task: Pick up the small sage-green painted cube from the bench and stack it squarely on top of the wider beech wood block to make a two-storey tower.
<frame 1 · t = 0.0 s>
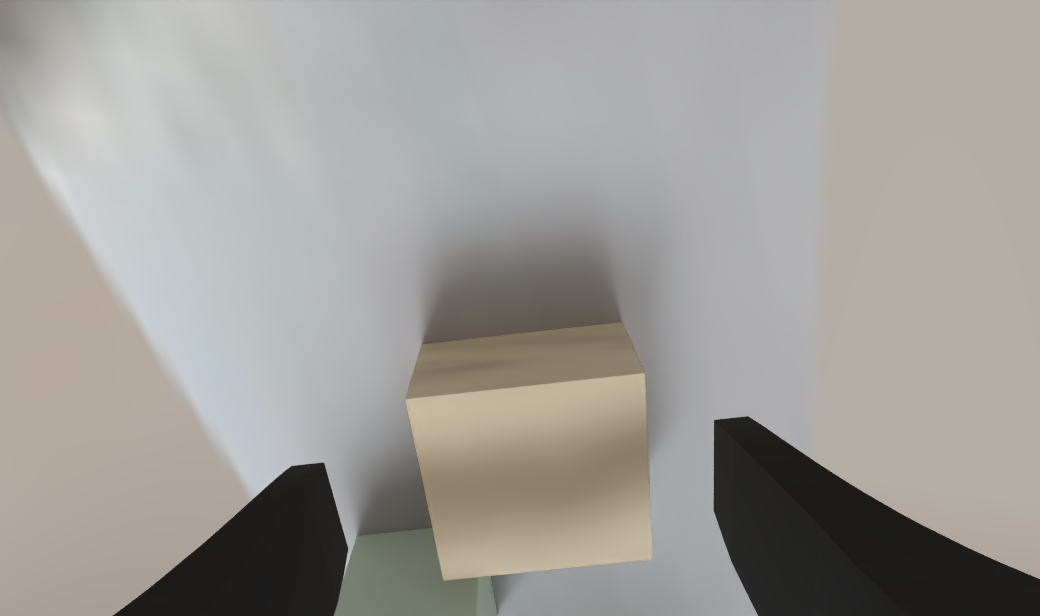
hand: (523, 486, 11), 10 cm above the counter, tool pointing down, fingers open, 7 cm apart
sage cube: (430, 575, 25), on the counter
beech base block: (531, 415, 23), on the counter
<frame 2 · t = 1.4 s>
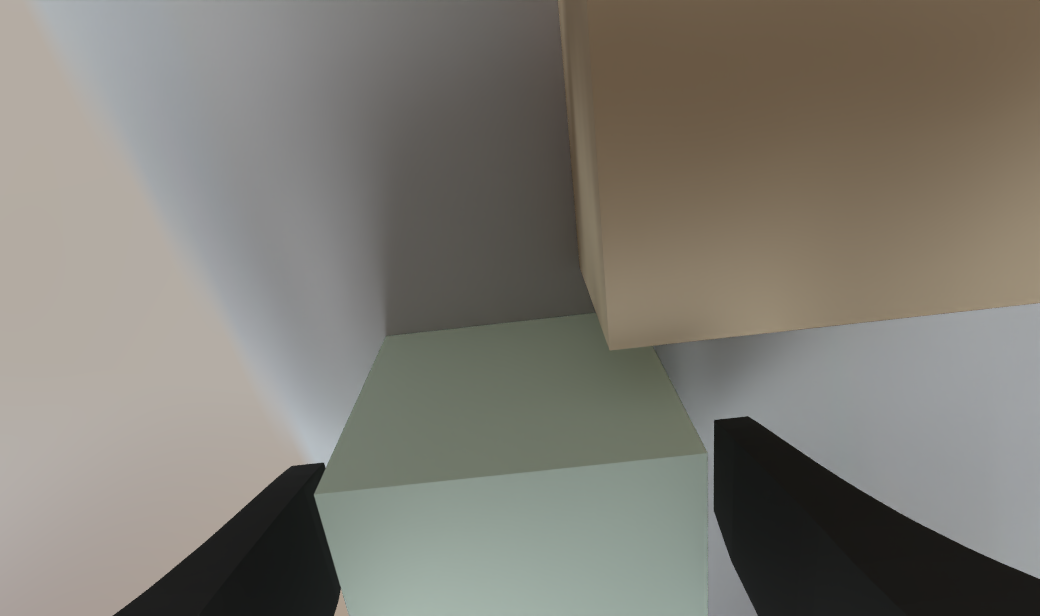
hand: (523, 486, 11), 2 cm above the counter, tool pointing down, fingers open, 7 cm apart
sage cube: (522, 426, 13), on the counter
beech base block: (761, 50, 11), on the counter
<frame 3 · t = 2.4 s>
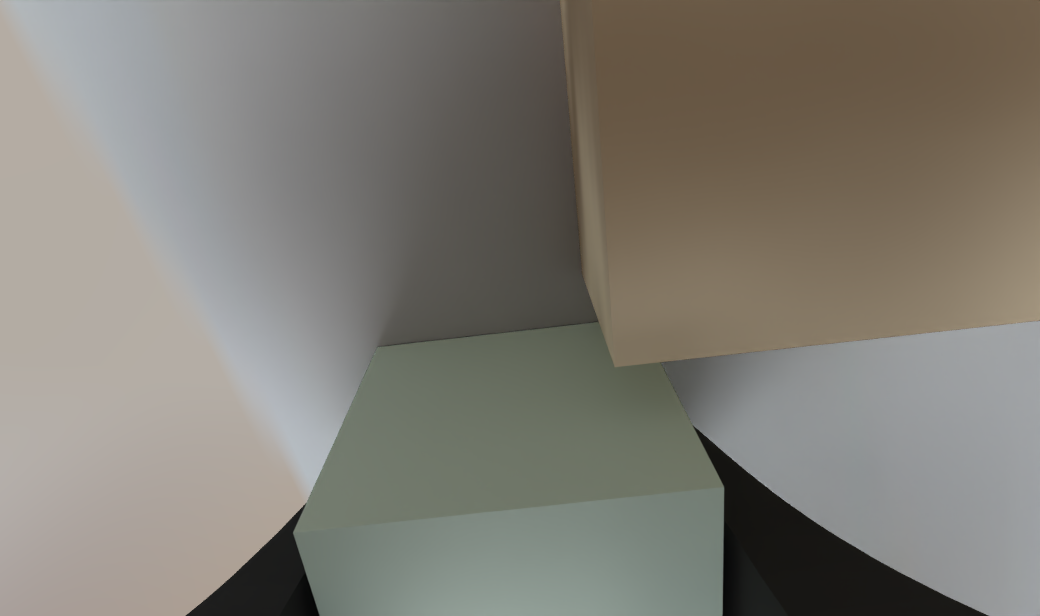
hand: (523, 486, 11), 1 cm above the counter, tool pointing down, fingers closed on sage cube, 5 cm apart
sage cube: (521, 442, 13), on the counter, touching gripper
beech base block: (774, 45, 10), on the counter
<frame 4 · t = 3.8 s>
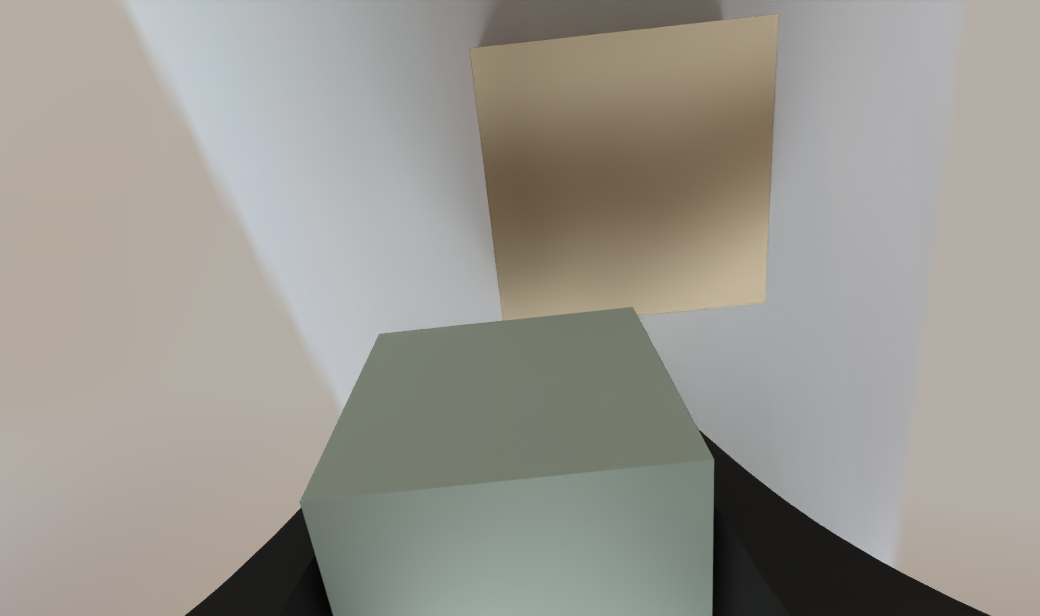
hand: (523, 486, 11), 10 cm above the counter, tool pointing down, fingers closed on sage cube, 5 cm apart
sage cube: (519, 429, 13), point 8 cm above the counter, touching gripper
beech base block: (604, 162, 19), on the counter
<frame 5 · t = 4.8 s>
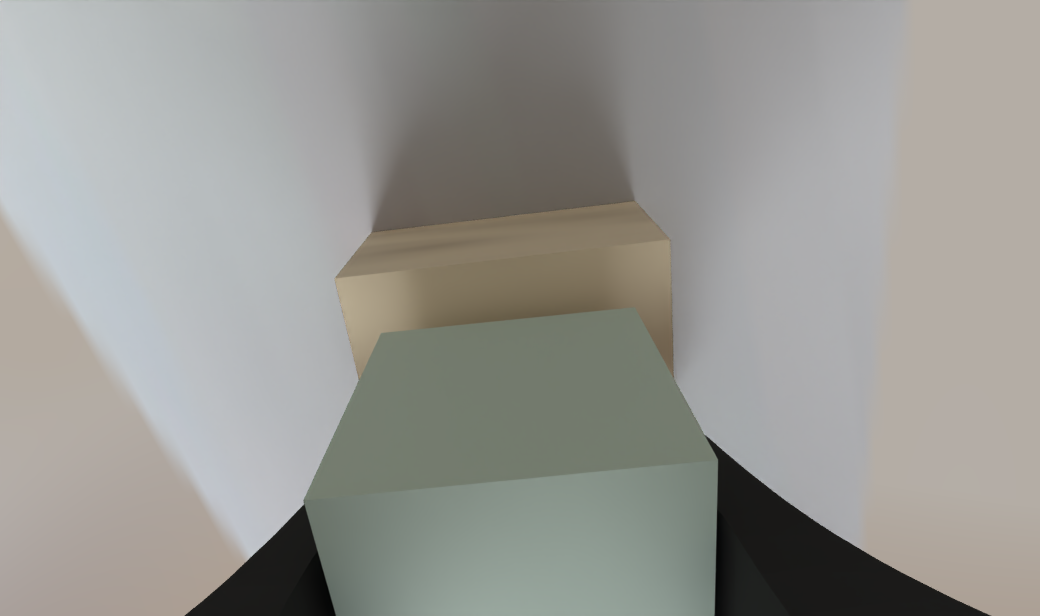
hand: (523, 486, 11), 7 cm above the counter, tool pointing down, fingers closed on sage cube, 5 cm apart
sage cube: (520, 428, 13), point 5 cm above the counter, touching gripper
beech base block: (517, 333, 18), on the counter
when the fingers open (7 cm above the counter, at t = 5.5 s): sage cube drops 1 cm, point 4 cm above the counter.
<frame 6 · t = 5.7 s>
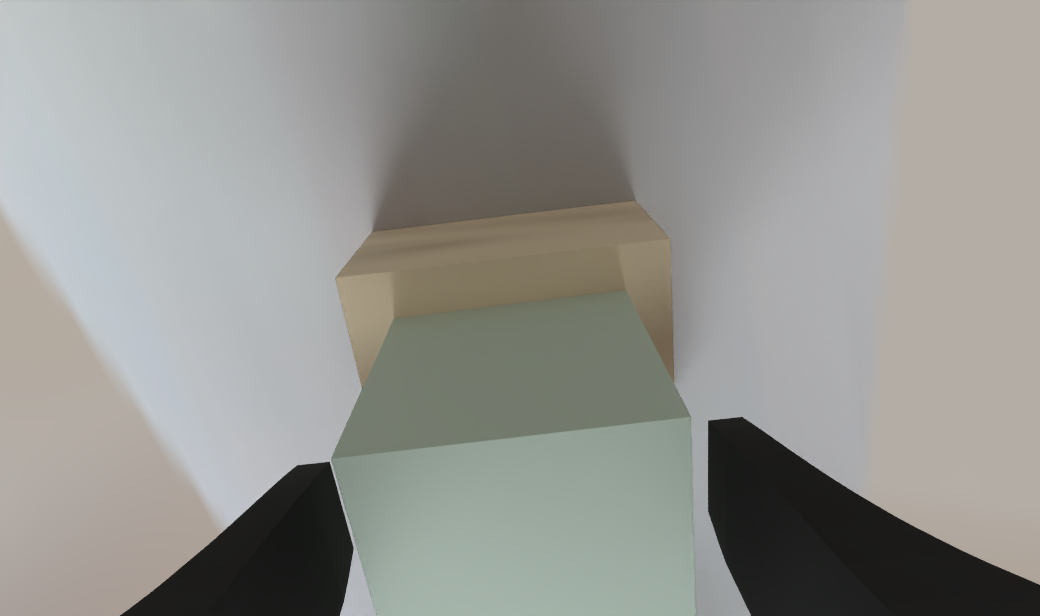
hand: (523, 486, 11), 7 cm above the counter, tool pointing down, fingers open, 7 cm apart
sage cube: (523, 404, 14), point 4 cm above the counter
beech base block: (518, 332, 18), on the counter
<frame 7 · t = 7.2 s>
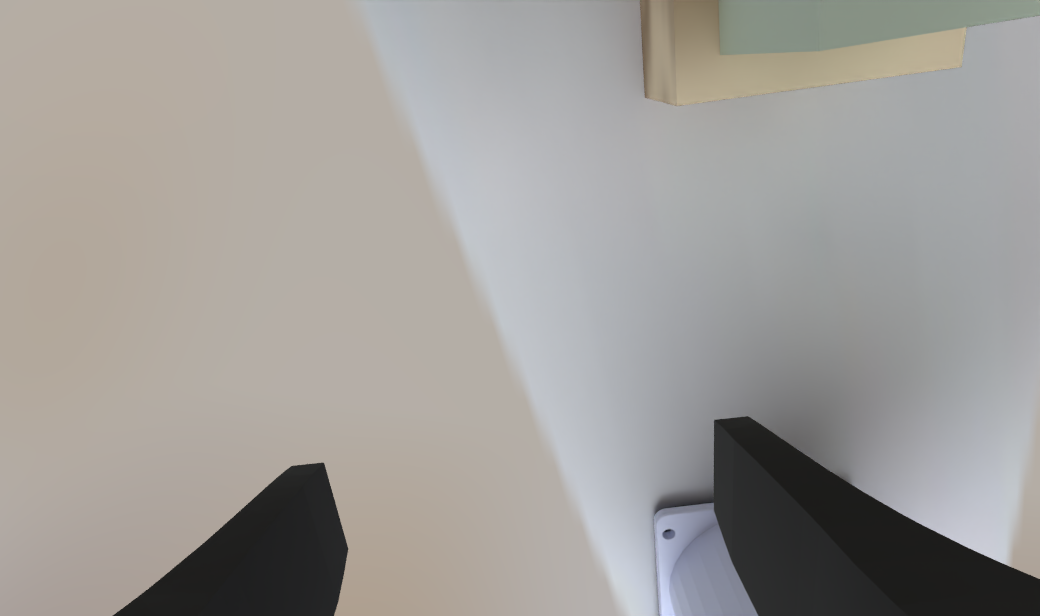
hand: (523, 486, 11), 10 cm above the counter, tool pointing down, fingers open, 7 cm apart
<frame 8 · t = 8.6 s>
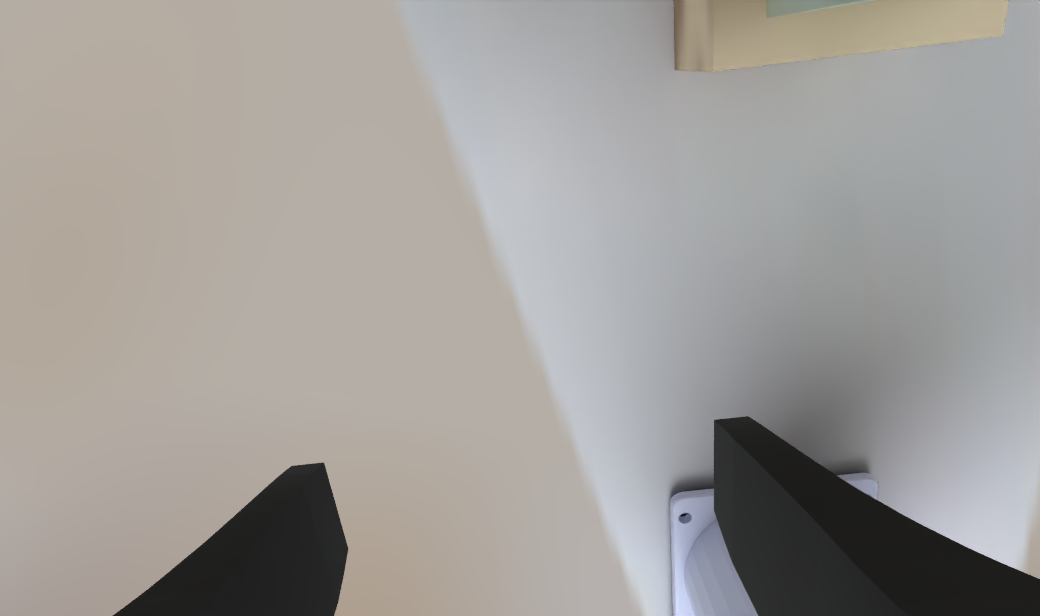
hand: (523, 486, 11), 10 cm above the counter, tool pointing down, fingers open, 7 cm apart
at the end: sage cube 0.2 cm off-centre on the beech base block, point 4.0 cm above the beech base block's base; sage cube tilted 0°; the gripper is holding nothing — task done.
